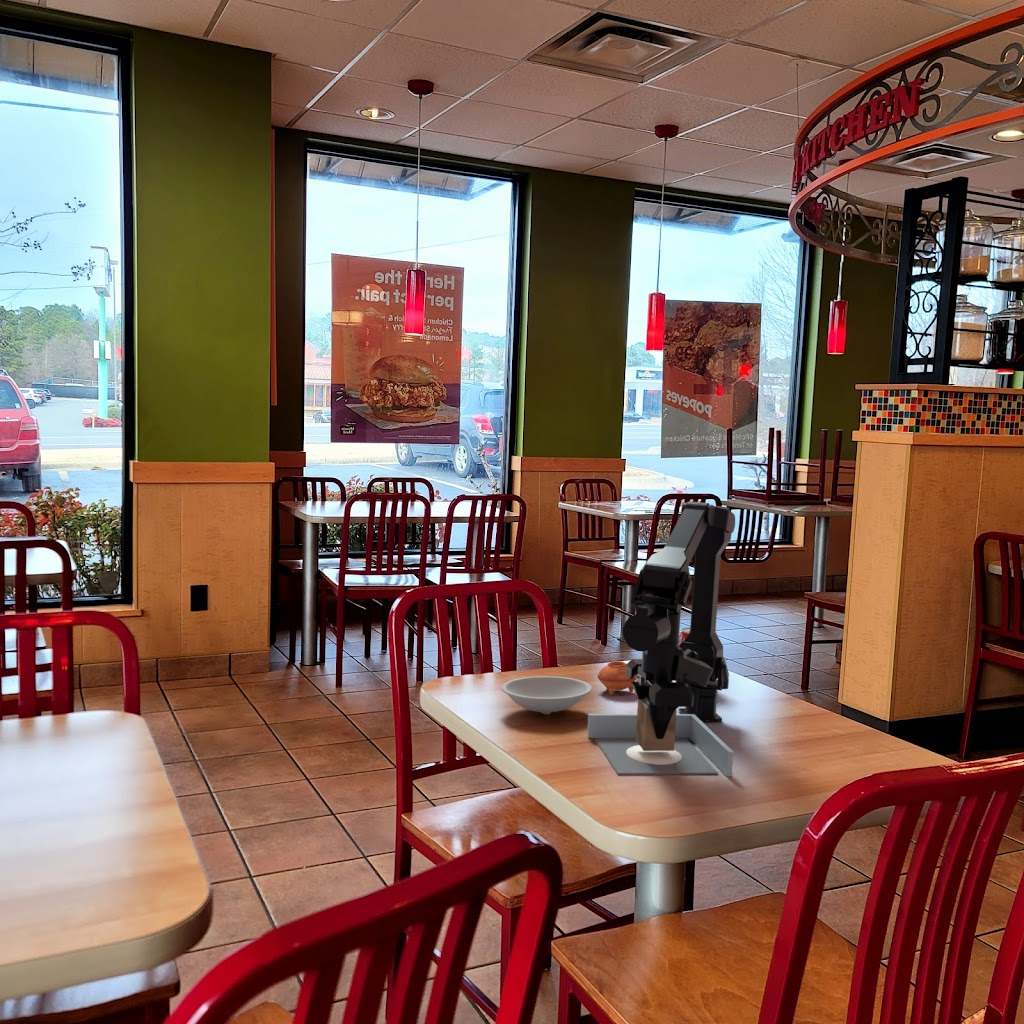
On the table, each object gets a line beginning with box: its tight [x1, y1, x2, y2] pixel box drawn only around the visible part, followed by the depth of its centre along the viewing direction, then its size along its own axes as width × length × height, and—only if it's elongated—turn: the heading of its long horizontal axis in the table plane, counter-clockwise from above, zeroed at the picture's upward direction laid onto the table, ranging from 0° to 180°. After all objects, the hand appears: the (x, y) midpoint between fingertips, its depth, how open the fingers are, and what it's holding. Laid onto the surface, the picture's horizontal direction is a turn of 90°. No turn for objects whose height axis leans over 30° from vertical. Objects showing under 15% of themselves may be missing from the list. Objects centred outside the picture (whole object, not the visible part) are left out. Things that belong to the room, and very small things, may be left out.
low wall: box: [586, 713, 734, 778], centre depth 157 cm, size 19×19×4 cm
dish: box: [501, 675, 593, 715], centre depth 177 cm, size 18×14×5 cm
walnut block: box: [636, 699, 678, 751], centre depth 156 cm, size 5×5×7 cm
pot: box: [597, 660, 636, 696], centre depth 193 cm, size 8×8×7 cm
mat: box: [594, 738, 719, 776], centre depth 156 cm, size 16×16×1 cm
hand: (655, 733), depth 156 cm, fingers closed on walnut block, 5 cm apart
